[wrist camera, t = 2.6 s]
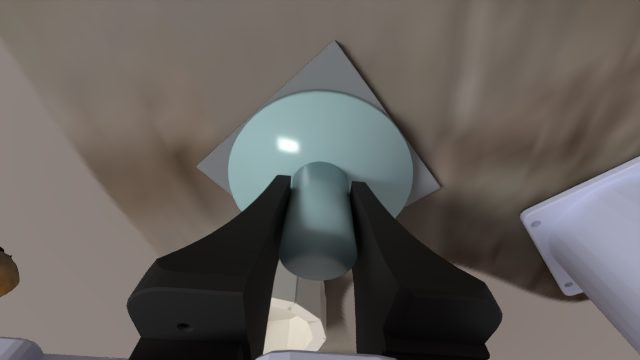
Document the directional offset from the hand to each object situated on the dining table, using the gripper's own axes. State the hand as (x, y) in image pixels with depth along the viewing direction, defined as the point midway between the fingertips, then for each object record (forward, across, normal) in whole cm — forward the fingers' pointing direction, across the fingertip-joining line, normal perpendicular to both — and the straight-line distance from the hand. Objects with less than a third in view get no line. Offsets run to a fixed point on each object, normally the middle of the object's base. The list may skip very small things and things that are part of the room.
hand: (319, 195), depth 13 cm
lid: (+2, 0, 0) cm, 2 cm away
